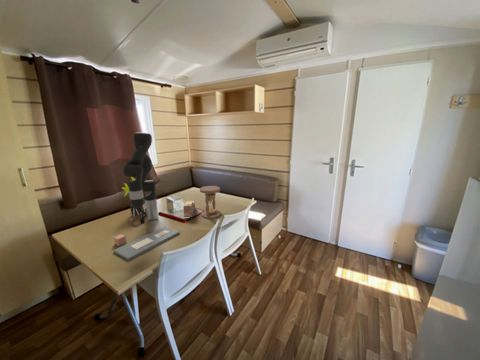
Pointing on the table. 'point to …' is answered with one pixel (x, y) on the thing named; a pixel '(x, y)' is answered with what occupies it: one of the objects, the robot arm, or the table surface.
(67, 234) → the table surface
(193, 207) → the stack of blocks
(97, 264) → the table surface
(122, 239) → the terracotta cube
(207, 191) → the hourglass
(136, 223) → the walnut brick
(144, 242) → the board
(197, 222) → the table surface
